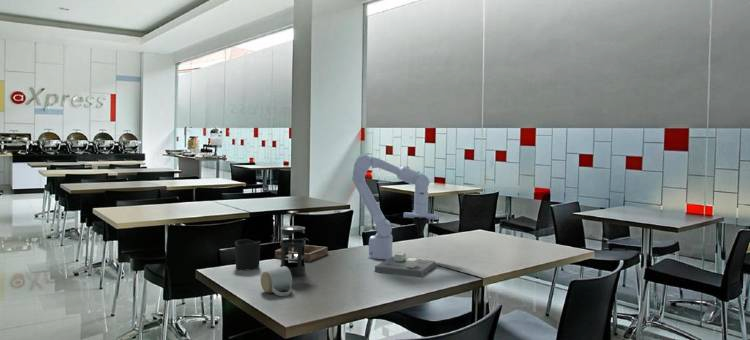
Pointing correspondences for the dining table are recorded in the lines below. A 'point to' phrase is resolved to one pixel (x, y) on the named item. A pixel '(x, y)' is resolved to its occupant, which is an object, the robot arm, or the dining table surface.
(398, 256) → the sage fader
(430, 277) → the dining table surface
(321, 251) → the tray
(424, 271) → the console
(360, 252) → the dining table surface
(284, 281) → the ceramic mug
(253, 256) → the pen holder
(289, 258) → the french press
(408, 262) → the block
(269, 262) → the dining table surface
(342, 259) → the dining table surface
